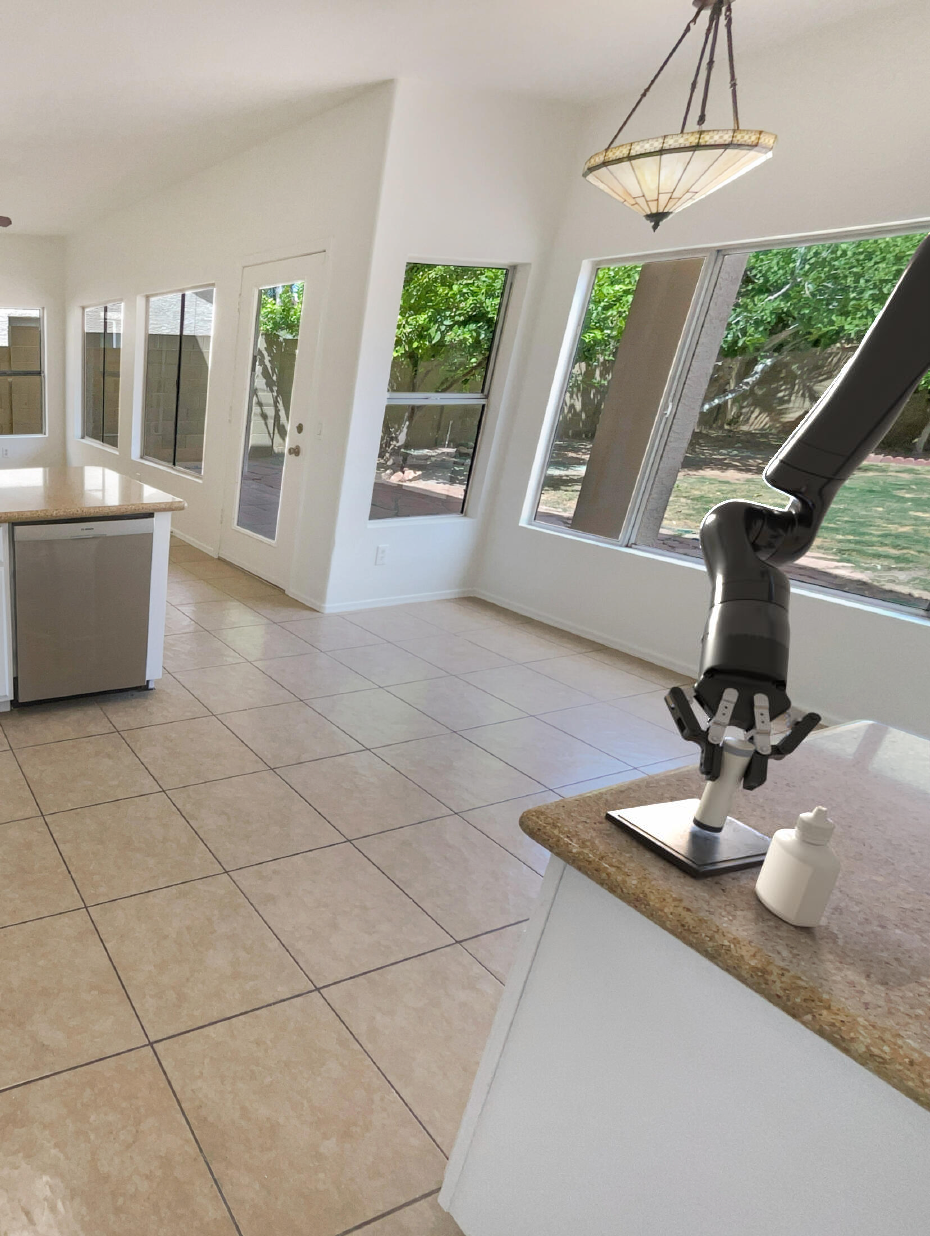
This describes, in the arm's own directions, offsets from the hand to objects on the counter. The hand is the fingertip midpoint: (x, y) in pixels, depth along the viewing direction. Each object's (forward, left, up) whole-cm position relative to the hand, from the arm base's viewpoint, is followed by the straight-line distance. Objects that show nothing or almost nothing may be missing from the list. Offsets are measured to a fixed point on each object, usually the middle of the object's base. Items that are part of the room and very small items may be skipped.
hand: (731, 783), depth 76 cm
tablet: (0, -1, -8) cm, 9 cm away
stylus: (-1, -1, -7) cm, 7 cm away
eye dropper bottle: (+3, +10, -9) cm, 13 cm away
